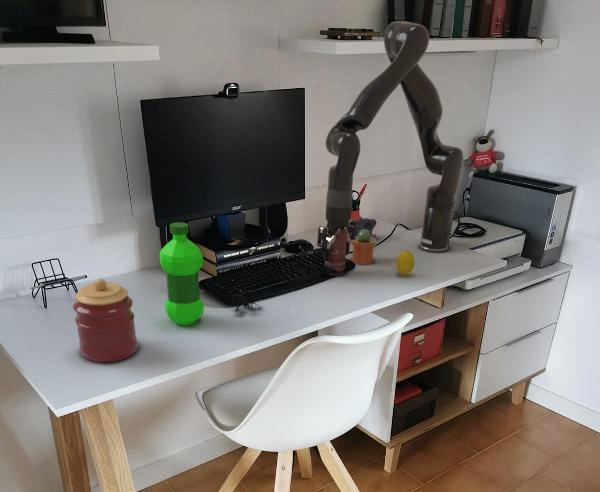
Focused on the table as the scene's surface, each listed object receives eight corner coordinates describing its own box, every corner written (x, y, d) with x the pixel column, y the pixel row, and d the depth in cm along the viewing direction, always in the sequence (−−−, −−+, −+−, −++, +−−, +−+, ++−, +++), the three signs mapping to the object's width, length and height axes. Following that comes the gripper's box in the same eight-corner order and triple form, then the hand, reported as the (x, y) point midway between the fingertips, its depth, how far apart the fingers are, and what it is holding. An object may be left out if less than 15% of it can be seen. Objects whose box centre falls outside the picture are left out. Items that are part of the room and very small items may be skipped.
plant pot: (361, 255, 216) (363, 224, 211) (379, 261, 212) (382, 230, 206) (345, 260, 212) (347, 229, 206) (363, 266, 207) (366, 235, 201)
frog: (340, 238, 231) (341, 216, 227) (365, 232, 237) (366, 211, 233) (359, 245, 224) (361, 223, 220) (384, 239, 231) (386, 217, 227)
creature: (264, 314, 176) (245, 299, 180) (267, 297, 173) (248, 282, 177) (242, 322, 172) (223, 307, 175) (245, 305, 168) (225, 290, 172)
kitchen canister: (73, 362, 148) (61, 289, 139) (89, 337, 159) (78, 268, 150) (131, 364, 148) (122, 291, 139) (142, 338, 159) (135, 269, 150)
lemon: (415, 274, 202) (418, 249, 198) (409, 280, 198) (413, 254, 194) (397, 271, 204) (400, 246, 200) (392, 276, 200) (395, 251, 196)
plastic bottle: (157, 318, 169) (149, 223, 156) (193, 309, 175) (188, 216, 162) (176, 333, 163) (169, 234, 150) (213, 323, 168) (209, 226, 155)
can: (345, 277, 199) (348, 231, 191) (324, 276, 199) (327, 230, 191) (344, 270, 204) (347, 225, 197) (324, 269, 204) (326, 224, 197)
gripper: (331, 210, 184) (328, 265, 192) (364, 202, 192) (360, 255, 201) (312, 204, 188) (310, 259, 196) (346, 197, 197) (342, 249, 205)
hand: (335, 257), depth 199 cm, fingers open, 8 cm apart
